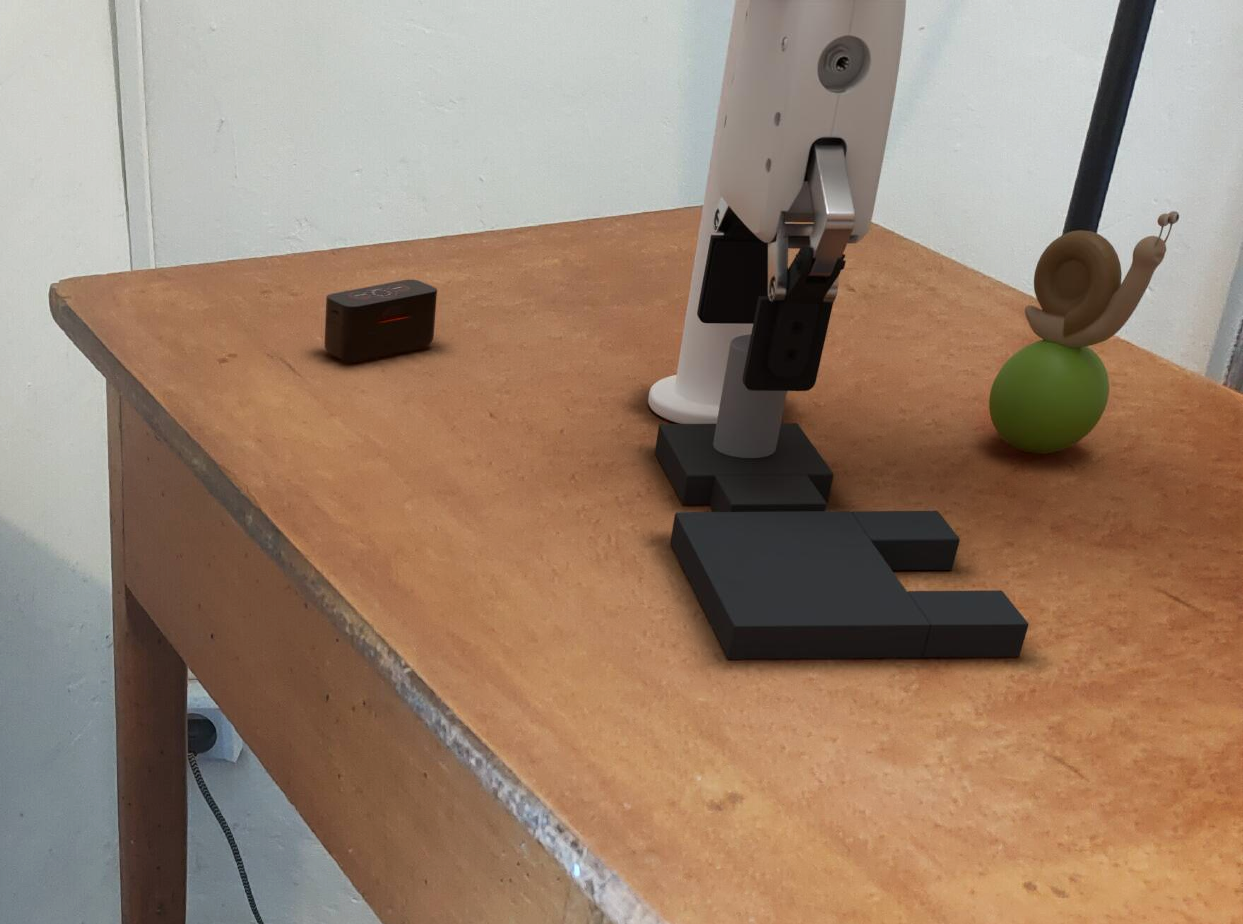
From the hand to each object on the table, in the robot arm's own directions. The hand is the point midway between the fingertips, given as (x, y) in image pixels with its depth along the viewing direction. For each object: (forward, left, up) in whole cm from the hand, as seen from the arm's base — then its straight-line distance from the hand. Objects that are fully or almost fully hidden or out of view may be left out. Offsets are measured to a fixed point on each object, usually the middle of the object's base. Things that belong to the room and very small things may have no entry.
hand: (752, 353), depth 90 cm
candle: (-1, -10, -6) cm, 12 cm away
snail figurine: (-16, -3, -6) cm, 18 cm away
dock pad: (-1, +14, -6) cm, 15 cm away
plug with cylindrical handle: (0, +2, -6) cm, 6 cm away
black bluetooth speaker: (+16, -21, -6) cm, 27 cm away
